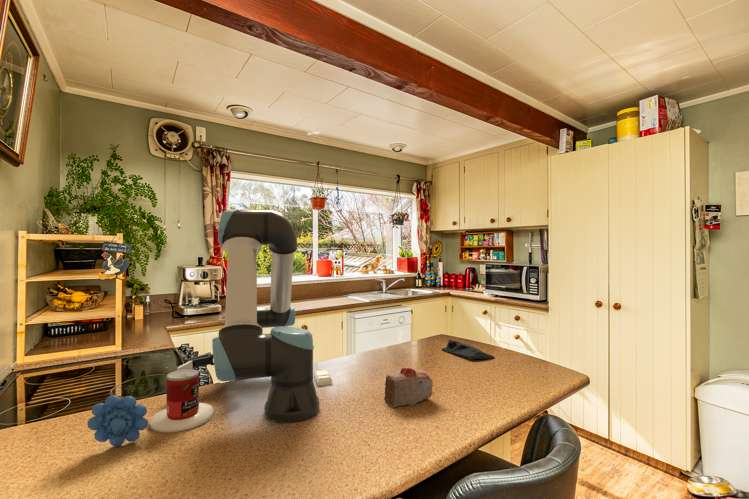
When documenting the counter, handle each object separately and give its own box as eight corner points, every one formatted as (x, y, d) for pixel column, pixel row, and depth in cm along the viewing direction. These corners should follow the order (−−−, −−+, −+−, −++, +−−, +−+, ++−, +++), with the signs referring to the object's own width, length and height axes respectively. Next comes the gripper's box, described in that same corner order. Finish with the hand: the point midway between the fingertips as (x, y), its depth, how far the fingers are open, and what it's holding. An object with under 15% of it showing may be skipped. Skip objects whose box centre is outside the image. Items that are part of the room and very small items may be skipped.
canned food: (185, 421, 93) (185, 379, 93) (159, 419, 95) (159, 377, 95) (205, 409, 101) (205, 369, 101) (180, 406, 102) (180, 368, 102)
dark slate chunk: (467, 363, 146) (467, 352, 146) (438, 350, 166) (438, 339, 167) (497, 359, 151) (497, 348, 151) (466, 346, 172) (466, 336, 172)
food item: (419, 392, 115) (419, 361, 115) (434, 401, 108) (434, 368, 108) (382, 400, 109) (382, 368, 109) (396, 411, 102) (396, 376, 102)
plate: (224, 414, 100) (224, 410, 100) (170, 438, 87) (170, 433, 87) (192, 402, 108) (192, 398, 108) (138, 423, 95) (138, 418, 95)
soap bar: (327, 376, 131) (327, 369, 131) (332, 385, 123) (332, 377, 123) (313, 378, 130) (313, 370, 130) (317, 387, 121) (317, 379, 121)
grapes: (84, 462, 77) (84, 406, 77) (88, 448, 83) (88, 396, 83) (148, 447, 83) (148, 395, 83) (148, 434, 89) (148, 386, 89)
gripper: (268, 363, 127) (241, 386, 105) (200, 362, 128) (160, 384, 107) (268, 342, 127) (241, 360, 105) (200, 341, 128) (160, 359, 107)
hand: (200, 372), depth 106 cm, fingers open, 13 cm apart
